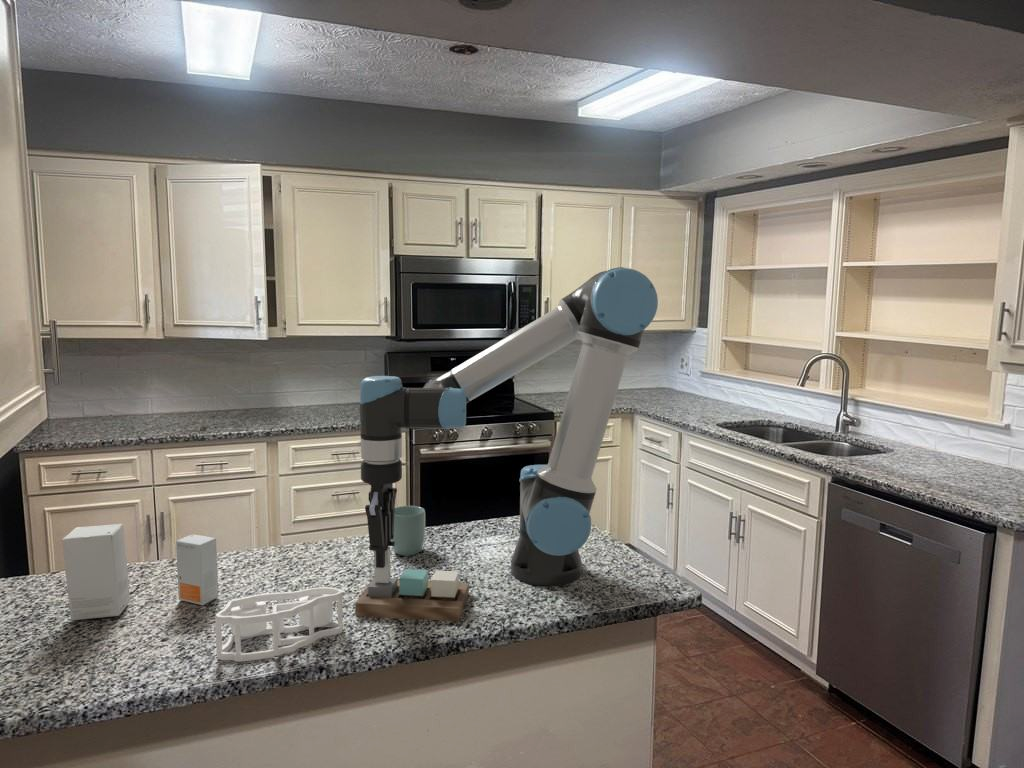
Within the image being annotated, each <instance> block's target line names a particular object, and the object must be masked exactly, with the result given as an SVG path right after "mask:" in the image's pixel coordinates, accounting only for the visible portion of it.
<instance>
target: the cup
mask: <svg viewBox="0 0 1024 768" xmlns="http://www.w3.org/2000/svg"><path fill="white" fill-rule="evenodd" d="M425 539H426V510H425V508H424V507H420V506H417V505H401V506H397V507H396V506H395V517H394V537H393V539H391V542H395V545H394V546H391V547H392V549H393V551H394V553H396V554H397V555H399V556H406V557H409V556H411V557H412V556H415V555H417V554H419V553H420V552H421V551H422V549H423V547H424V544H425Z"/></svg>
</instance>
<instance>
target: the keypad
mask: <svg viewBox="0 0 1024 768" xmlns="http://www.w3.org/2000/svg"><path fill="white" fill-rule="evenodd" d="M373 579H374V578H372V579H371V581H370V582H369V583H368V585H367V586H366V588H365V589H364V591H363V592H362V593H361V594H360V595H359V597H358V598H357V600H356V602H355V605H354V606H355V614H354V615H355V617H365V618H366V617H367V618H381V619H382V618H384V619H405V620H408V619H409V620H423V621H426V620H427V621H445V622H446V621H450V622H460V621H461V617H462V615H463V612H464V609H465V606H466V603H467V600H468V598H469V594H470V593H469V591H470V590H469V583H468V582H459V588H458V591H457V593H456V596H455V598H453V597H434V596H431V581H429V580H428V587H427V589H426V591H425V593H424V595H423V596H414V595H400V579H397V592H396V593H395V595H394V597H393V598H384V597H368V586H369V585H370V583H371V582H372V581H373Z"/></svg>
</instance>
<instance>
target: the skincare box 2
mask: <svg viewBox="0 0 1024 768" xmlns="http://www.w3.org/2000/svg"><path fill="white" fill-rule="evenodd" d="M175 546H176V547H175V549H176V567H177V569H176V570H177V591H178V600H179V601H182V602H183V601H184V602H187V603H192V604H196V605H199V606H205V605H206V604H208V603H210V602H212V601H213V600H216V599H217V598H218V597H219V581H218V580H219V579H218V578H219V577H218V557H217V556H218V555H217V554H218V553H217V538H216V537H210V536H208V535H207V536H206V535H198V534H189V535H187V536H185V537H181V538H179V539H178V540H176V541H175Z"/></svg>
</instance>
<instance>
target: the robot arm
mask: <svg viewBox="0 0 1024 768" xmlns="http://www.w3.org/2000/svg"><path fill="white" fill-rule="evenodd" d="M658 299H659V298H658V293H657V291H656V288H655V285H654V284H653V282H652V281H651V279H650V278H648V276H647V275H646V274H644V273H642V272H640V271H638V270H637V269H632V268H628V267H623V266H619V267H615V268H610V269H608V270H604V271H600V272H598V273H597V274H594V275H593V276H592V277H590V278H589V279H588V280H586V281H585V282H584V283H583V284H581V285H580V286H579V287H578V288H576V289H575V290H573V291H571V293H569V294H566V296H564V297H563V298H560V299H559V301H558V306H557V307H555V308H553V309H552V310H550V311H548V312H546V313H545V314H543V315H542V316H540V317H539V318H537V319H535V320H533V321H532V322H530V323H528V324H526V325H524V326H523V327H521V328H520V329H518V330H517V331H515V332H513V333H512V334H510V335H507V336H506V337H504V338H502V339H501V340H499V341H498V342H496V343H494V344H492V345H491V346H489V347H488V348H486V349H484V350H482V351H480V352H479V353H477V354H476V355H473V356H472V357H470V358H468V359H467V360H465V361H464V362H462V363H460V364H459V365H456V366H455V367H454V368H452V369H451V370H449V371H446V372H445V373H443V374H442V375H440V376H438V377H434V378H432V379H430V380H429V381H427V382H426V383H425V384H424V386H422V387H403V383H402V379H401V378H400V377H398V376H394V375H391V376H389V375H373V376H372V375H371V376H367V377H365V378H363V379H362V380H361V382H360V392H359V394H360V395H359V402H358V404H359V426H360V429H359V430H360V435H359V436H360V441H358V443H357V446H358V447H360V459H362V461H361V462H360V480H361V481H362V482H363V483H365V484H368V485H369V486H370V491H369V492H368V502H369V504H365V507H364V511H365V514H366V519H367V529H368V530H367V531H368V539H369V548H368V550H369V551H373V561H374V562H373V564H374V567H373V569H374V573H373V574H374V575H373V579H374V583H389V582H390V580H391V578H392V577H391V576H392V575H391V547H392V546H394V545H395V542H391V539H393V537H394V517H395V508H396V498H397V492H398V489H397V487H394V485H393V484H395V483H398V482H400V481H401V480H402V479H403V478H402V477H403V461H402V460H401V458H402V457H403V437H402V436H403V435H402V430H403V429H431V430H433V429H434V430H436V429H437V430H438V429H440V430H450V429H451V430H452V429H462V428H464V427H465V426H466V424H467V404H468V403H470V402H471V401H472V400H474V399H476V398H478V397H480V396H481V395H483V394H485V393H486V392H488V391H490V390H491V389H492V390H493V388H495V387H496V386H499V385H500V384H502V383H503V382H505V381H507V380H508V379H510V378H513V377H514V376H516V375H518V374H519V373H521V372H522V371H525V370H526V369H528V368H529V367H531V366H533V365H534V364H536V363H538V362H540V361H541V360H543V359H545V358H546V357H548V356H550V355H552V354H553V353H555V352H558V351H559V350H561V349H563V348H564V347H566V346H567V345H569V344H571V343H573V342H574V341H576V340H579V341H581V343H582V345H581V348H580V351H579V356H578V359H577V362H576V365H575V369H574V373H573V376H572V380H571V383H570V386H569V390H568V393H567V397H566V400H565V404H564V407H563V410H562V415H561V417H560V420H559V425H558V428H557V431H556V435H555V438H554V441H553V445H552V448H551V452H550V456H549V458H548V463H547V464H533V465H532V464H530V465H526V466H524V467H523V468H521V470H520V477H519V481H518V482H519V483H520V485H519V492H520V496H519V497H520V498H519V537H518V539H517V542H516V545H515V548H514V551H513V554H512V557H511V561H510V572H511V575H512V576H513V577H514V578H516V580H519V581H521V582H524V583H527V584H530V585H536V586H544V587H551V586H552V587H553V586H554V587H556V586H562V585H566V584H567V585H568V584H571V583H574V582H576V581H577V580H579V579H580V578H581V577H582V574H583V562H582V558H581V555H580V554H581V553H580V552H579V550H580V549H581V548H582V547H583V546H584V545H585V544H586V542H587V541H588V539H589V538H590V534H591V531H592V517H591V515H590V513H591V510H592V506H593V503H594V501H595V500H594V499H595V496H596V493H597V487H596V485H595V484H594V481H593V478H592V477H593V474H594V470H595V467H596V463H597V461H598V457H599V453H600V451H601V447H602V443H603V440H604V437H605V434H606V430H607V427H608V424H609V420H610V417H611V413H612V409H613V407H614V403H615V400H616V396H617V394H618V391H619V386H620V383H621V379H622V377H623V373H624V370H625V366H626V363H627V360H628V357H629V356H630V355H631V354H633V353H635V352H637V351H639V348H640V345H641V341H642V338H643V336H644V332H645V329H647V328H648V327H649V326H650V324H651V323H652V322H653V320H654V319H655V317H656V314H657V310H658V307H659V306H658V305H659V304H658V303H659V301H658Z"/></svg>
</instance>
